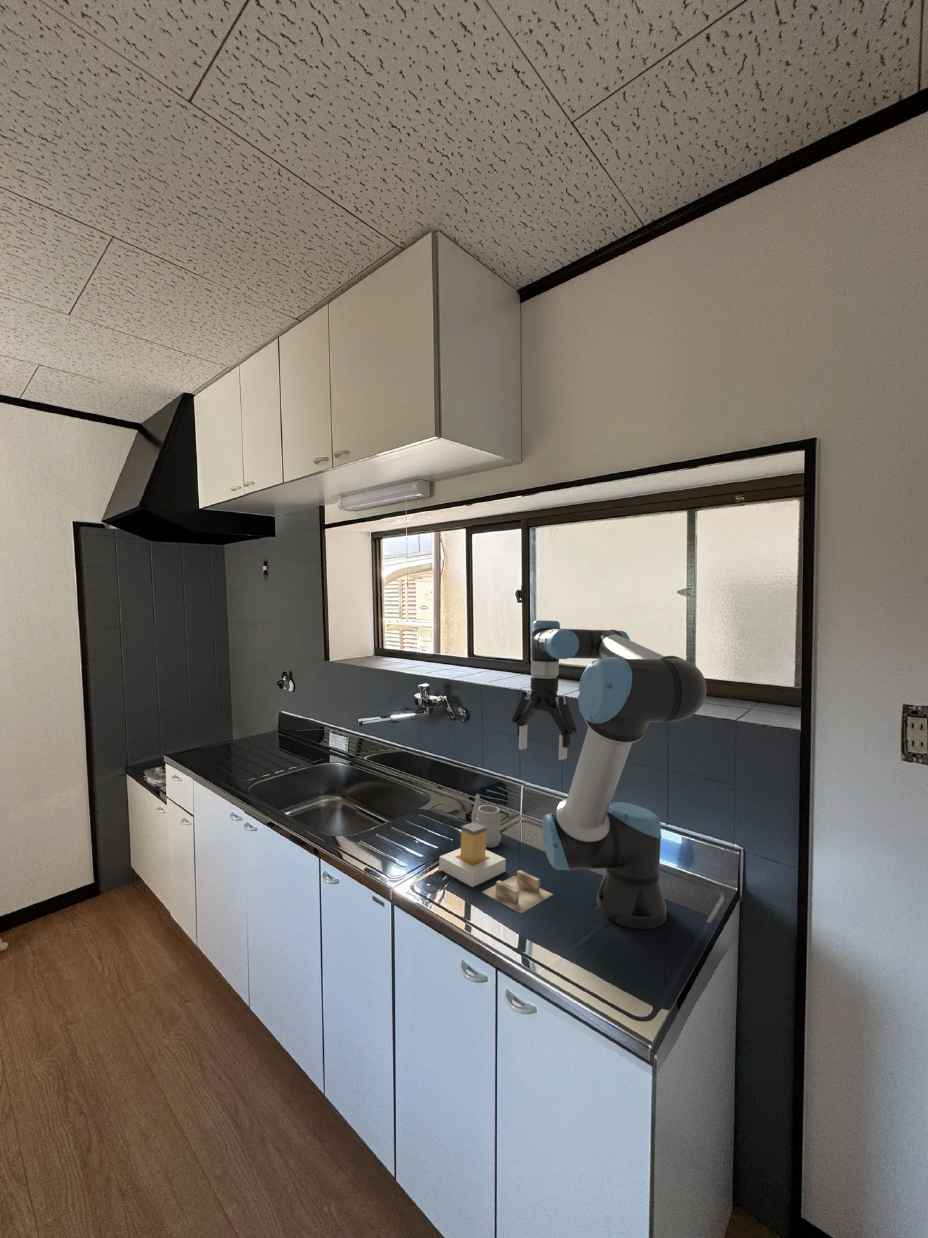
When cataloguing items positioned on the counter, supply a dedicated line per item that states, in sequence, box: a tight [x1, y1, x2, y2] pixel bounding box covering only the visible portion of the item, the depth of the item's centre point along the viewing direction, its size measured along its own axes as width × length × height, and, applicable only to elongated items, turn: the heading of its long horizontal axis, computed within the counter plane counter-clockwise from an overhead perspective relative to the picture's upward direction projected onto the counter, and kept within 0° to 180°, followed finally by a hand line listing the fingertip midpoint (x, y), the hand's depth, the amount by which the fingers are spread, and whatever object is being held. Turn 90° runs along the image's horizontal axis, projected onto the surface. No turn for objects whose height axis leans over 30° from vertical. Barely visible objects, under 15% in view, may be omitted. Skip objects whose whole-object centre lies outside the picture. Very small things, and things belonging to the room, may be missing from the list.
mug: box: [471, 794, 502, 849], centre depth 156 cm, size 8×12×12 cm, turn 34°
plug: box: [460, 821, 487, 866], centre depth 135 cm, size 4×4×12 cm
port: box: [438, 847, 507, 888], centre depth 135 cm, size 12×12×4 cm
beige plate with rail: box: [481, 869, 554, 914], centre depth 125 cm, size 12×12×4 cm
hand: (542, 753), depth 145 cm, fingers open, 13 cm apart
